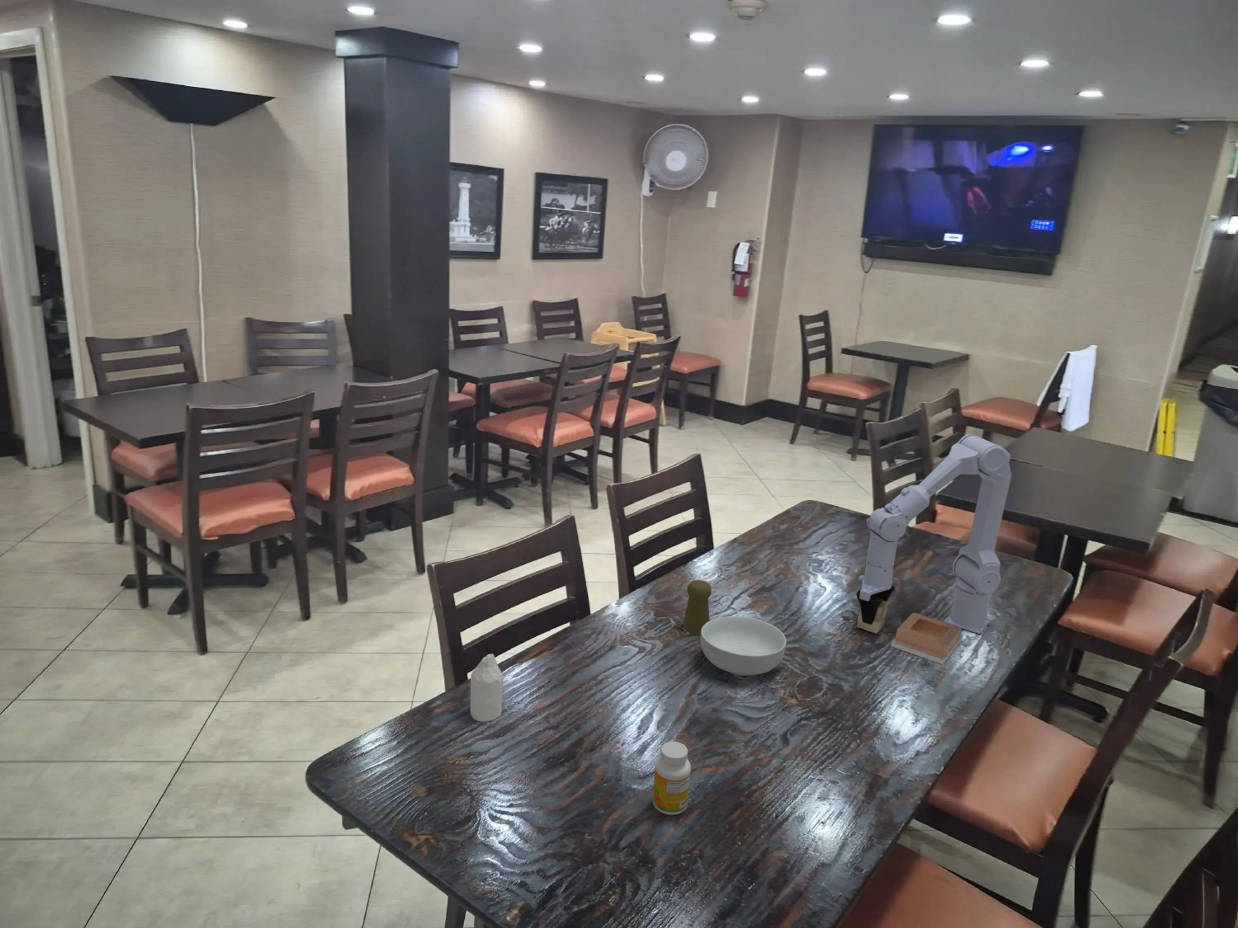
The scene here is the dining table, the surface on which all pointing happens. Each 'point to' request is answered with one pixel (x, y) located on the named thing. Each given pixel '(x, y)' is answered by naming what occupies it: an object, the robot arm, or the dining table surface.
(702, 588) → the olive salt shaker
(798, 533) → the dining table surface
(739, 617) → the cereal bowl
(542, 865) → the dining table surface
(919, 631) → the orange-brown socket block
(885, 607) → the birch block
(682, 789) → the supplement bottle
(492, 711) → the grey pointed cylinder
